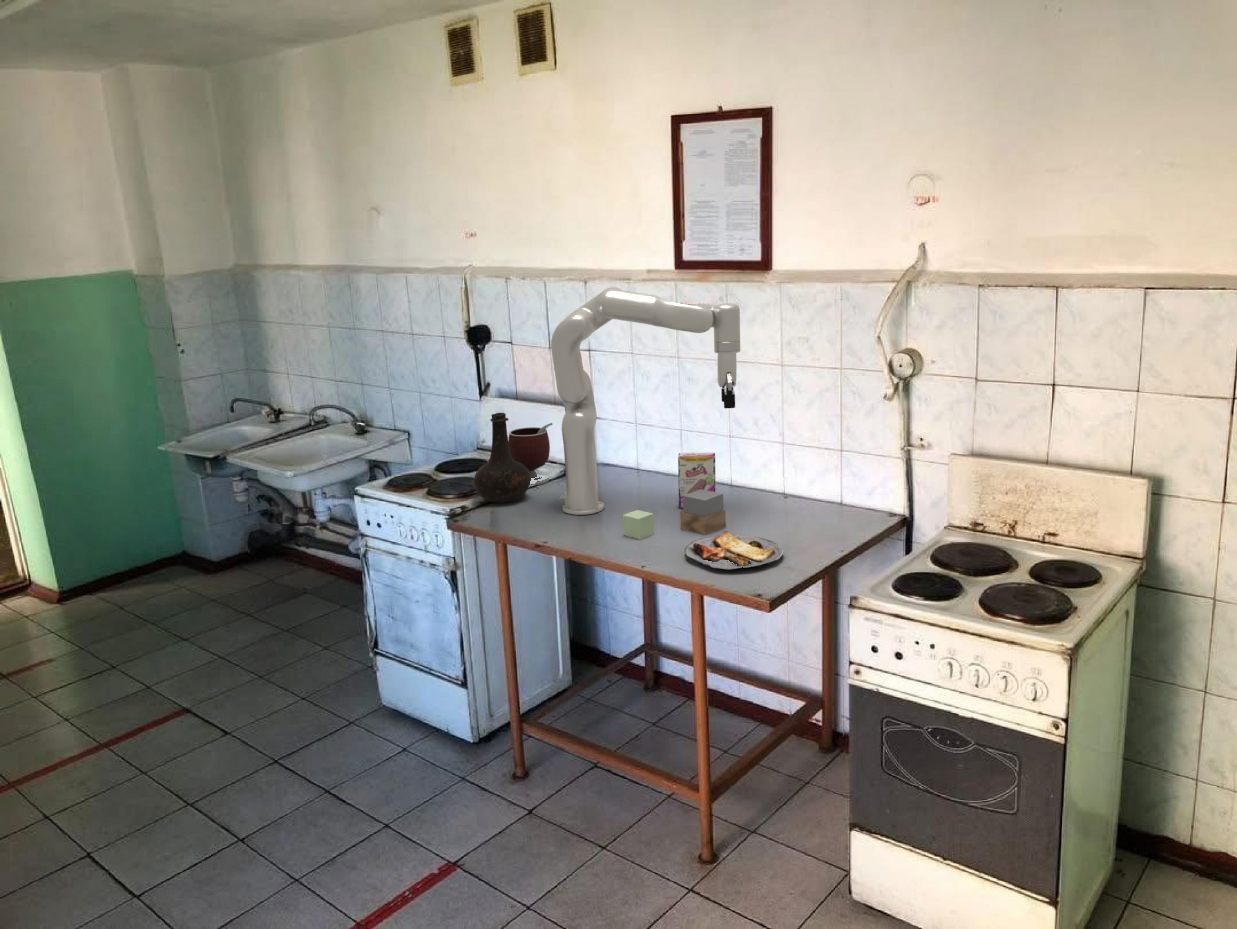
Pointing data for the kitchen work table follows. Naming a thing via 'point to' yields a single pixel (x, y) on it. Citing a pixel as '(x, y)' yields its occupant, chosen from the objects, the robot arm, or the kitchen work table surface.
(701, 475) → the candy bar box
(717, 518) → the walnut base block
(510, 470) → the glass bottle
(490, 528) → the kitchen work table surface
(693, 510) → the gray middle block
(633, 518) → the green cube
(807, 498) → the kitchen work table surface
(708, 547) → the food plate
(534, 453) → the mate gourd
